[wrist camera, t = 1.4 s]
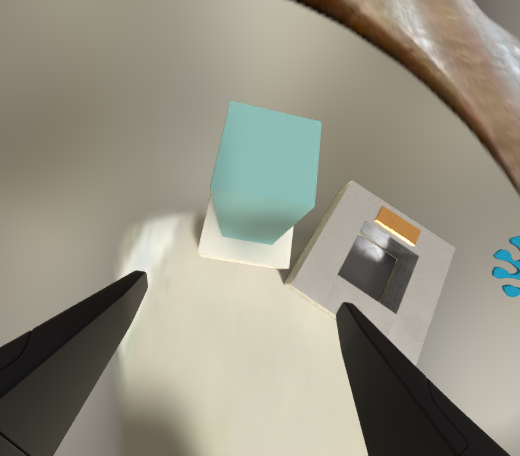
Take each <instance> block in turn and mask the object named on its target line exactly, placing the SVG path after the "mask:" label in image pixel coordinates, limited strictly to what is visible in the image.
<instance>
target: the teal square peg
mask: <svg viewBox="0 0 520 456" xmlns="http://www.w3.org/2000/svg"><path fill="white" fill-rule="evenodd" d="M320 135H321V122H320V121H315V120H311V119H307V118H302V117H298V116H294V115H290V114H285V113H281V112H277V111H272V110H268V109H264V108H259V107H255V106H251V105H246V104H242V103H238V102H233V101H230V105H229V109H228V113H227V117H226V122H225V126H224V130H223V134H222V138H221V143H220V147H219V151H218V155H217V160H216V164H215V168H214V173H213V177H212V181H211V185H210V188H211V192H212V196H213V200H214V205H215V209H216V213H217V217H218V221H219V225H220V229H221V234H222V237H228V238H233V239H239V240H245V241H251V242H257V243H263V244H268V245H273V244H274V243H275V242H276V241H277V240H278V239H279V238H280V237H281V236H283V235H284V234H285V233H286V232H287V231H288V230H289V229H290V228H292V227H293V226H294V225H295V224H296V223H297V222H298V221H299V220H300V219H302V218H303V217H304V216H305V215H306V214H307V213H308V212H309V211H310V210H311V209H313V208H314V207H315V197H316V184H317V172H318V160H319V147H320Z"/></svg>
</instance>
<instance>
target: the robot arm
mask: <svg viewBox="0 0 520 456" xmlns="http://www.w3.org/2000/svg"><path fill="white" fill-rule="evenodd" d="M147 288H148V282H147V274H146V272H144V271H134V272H132V273H130V274H128V275H127V276H125V277H123V278H121V279H120V280H118V281H116V282H114V283H113V284H111V285H109V286H107V287H106V288H104V289H102V290H100V291H98V292H97V293H95V294H93V295H91V296H90V297H88V298H86V299H85V300H83V301H81V302H79V303H78V304H76V305H74V306H72V307H70V308H69V309H67V310H65V311H63V312H62V313H60V314H58V315H56V316H55V317H53V318H51V319H49V320H48V321H46V322H44V323H42V324H41V325H39V326H37V327H35V328H34V329H33V330H32V331H28V332H26V333H25V334H23V335H21V336H20V337H18V338H16V339H14V340H12V341H11V342H9V343H7V344H5V345H3V346H2V347H0V456H53V455H54V453H55V452H56V450H57V448H58V447H59V445H60V443H61V442H62V440H63V438H64V436H65V435H66V433H67V431H68V430H69V428H70V426H71V425H72V423H73V421H74V420H75V418H76V416H77V415H78V413H79V411H80V410H81V408H82V406H83V405H84V403H85V401H86V400H87V398H88V396H89V394H90V392H91V391H92V389H93V388H94V386H95V384H96V383H97V381H98V379H99V378H100V376H101V374H102V372H103V371H104V369H105V368H106V366H107V364H108V362H109V361H110V359H111V357H112V356H113V354H114V352H115V351H116V349H117V347H118V346H119V344H120V342H121V341H122V339H123V337H124V336H125V334H126V332H127V330H128V329H129V327H130V325H131V323H132V321H133V319H134V317H135V315H136V313H137V311H138V308H139V306H140V304H141V302H142V300H143V297H144V295H145V293H146V291H147ZM336 321H337V328H338V334H339V340H340V346H341V352H342V356H343V360H344V364H345V367H346V371H347V375H348V379H349V383H350V387H351V390H352V394H353V398H354V402H355V406H356V410H357V414H358V417H359V421H360V425H361V429H362V433H363V437H364V440H365V444H366V448H367V452H368V456H510V455H509V454H508V453H507V452H506V451H505V450H503V448H501V447H500V446H499V445H498V444H497V443H496V442H495V441H494V440H493V439H491V438H490V437H489V436H488V435H487V434H486V433H485V432H484V431H483V430H482V429H480V428H479V427H478V426H477V425H476V424H475V423H474V422H473V421H472V420H471V419H470V418H469V417H467V416H466V415H465V414H464V413H463V412H462V411H461V410H460V409H459V408H458V407H457V406H456V405H455V404H453V403H452V402H451V401H450V400H449V399H448V398H447V397H446V396H445V395H444V394H443V393H442V392H441V391H440V390H439V389H438V388H437V387H436V386H435V385H434V384H433V383H432V382H431V381H430V380H429V379H428V378H426V376H425V375H424V374H423V373H422V372H421V371H420V370H419V369H418V368H417V367H416V366H415V365H414V364H413V363H412V362H411V361H410V360H409V359H408V358H407V357H406V356H405V355H404V354H403V353H402V352H401V351H400V350H399V349H398V348H397V347H396V346H395V345H394V344H393V343H392V342H391V341H390V340H389V339H388V338H387V337H386V336H385V335H384V334H383V333H382V332H381V331H380V330H379V329H378V328H377V327H376V326H375V325H374V324H373V323H372V322H371V321H370V320H369V319H368V318H367V317H366V316H365V315H364V314H363V313H362V312H361V311H360V310H359V309H358V308H357V307H356V306H355V305H354V304H353V303H349V302H343V303H342V304H341V306H340V307H339V309H338V311H337V313H336Z"/></svg>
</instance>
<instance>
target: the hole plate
mask: <svg viewBox="0 0 520 456" xmlns="http://www.w3.org/2000/svg"><path fill="white" fill-rule="evenodd" d="M359 234H361V235H362V236H364V237H365V238H367V239H368V240H370V241H371V242H373V243H374V244H376V245H377V246H379V247H380V248H382V249H383V250H385V251H386V252H388V253H389V254H391V255H392V256H394V257H395V258H397V262H396V264H395V261H396V259H395V258H394V257H392V256H391V255H389V254H388V253H386V252H385V251H383V250H382V249H380V248H379V247H377V246H376V245H374V244H373V243H371V242H370V241H368V240H367V239H365V238H364V237H362V236H361V235H359ZM454 251H455V247H453V246H452V245H450V244H448V243H447V242H445V241H444V240H442V239H441V238H439V237H438V236H436V235H434V234H433V233H432V232H430V231H428V230H427V229H426V228H424V227H423V226H421V225H420V224H418V223H416V222H415V221H413V220H412V219H410V218H409V217H407V216H406V215H404V214H403V213H401V212H400V211H398V210H397V209H395V208H394V207H392V206H391V205H389V204H387V203H386V202H384V201H383V200H381V199H380V198H378V197H377V196H375V195H374V194H372V193H371V192H369V191H368V190H366V189H364V188H363V187H362V186H360V185H358V184H357V183H355V182H354V181H352V180H351V181H350V182H349V183H348V184H347V185H345V186H344V187H343V188H342V189H341V190H339V192H338V193H337V195H336V197H335V198H334V200H333V202H332V204H331V205H330V207H329V208H328V210H327V212H326V213H325V216H324V217H323V219H322V220H321V222H320V224H319V225H318V227H317V229H316V230H315V232H314V234H313V235H312V237H311V239H310V241H309V242H308V244H307V246H306V247H305V249H304V251H303V252H302V254H301V256H300V257H299V259H298V261H297V262H296V264H295V266H294V268H293V269H292V271H291V273H290V274H289V276H288V278H287V279H286V281H285V283H284V285H285V286H287V287H288V288H290V289H291V290H293V291H294V292H296V293H297V294H299V295H300V296H301V297H303V298H304V299H306V300H307V301H309V302H310V303H312V304H313V305H315V306H316V307H318V308H319V309H320V310H322V311H323V312H325V313H326V314H328V315H329V316H331V317H332V318H334V319H335V320H336V313H337V311H338V309H339V307H340V306H341V304H342V303H343V302H349V303H353V304H354V305H355V306H356V307H357V308H358V309H359V310H360V311H361V312H362V313H363V314H364V315H365V316H366V317H367V318H368V319H369V320H370V321H371V322H372V323H373V324H374V325H375V326H376V327H377V328H378V329H379V330H380V331H381V332H382V333H383V334H384V335H385V336H386V337H387V338H388V339H389V340H390V341H391V342H392V343H393V344H394V345H395V346H396V347H397V348H398V349H399V350H400V351H401V352H402V353H403V354H404V355H405V356H406V357H407V358H408V359H409V360H410V361H411V362H412V363H413V364H414V365H415V366H416V364H417V361H418V358H419V355H420V352H421V349H422V346H423V343H424V340H425V337H426V334H427V331H428V328H429V325H430V322H431V319H432V316H433V313H434V311H435V307H436V305H437V302H438V298H439V296H440V293H441V289H442V287H443V284H444V281H445V278H446V275H447V272H448V269H449V266H450V263H451V260H452V257H453V254H454ZM394 264H395V266H394ZM393 266H394V269H393V271H392V268H393ZM391 271H392V273H391ZM390 273H391V276H390V278H389V275H390ZM388 278H389V281H388V283H387V285H386V282H387V280H388ZM385 285H386V288H385V290H384V292H383V289H384V287H385ZM382 292H383V295H382V297H381V299H380V296H381V294H382ZM379 299H380V302H378V301H379Z"/></svg>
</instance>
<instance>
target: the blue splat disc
mask: <svg viewBox="0 0 520 456" xmlns="http://www.w3.org/2000/svg"><path fill="white" fill-rule="evenodd" d="M509 242H510V243H511V244H513V245H514V246H516V247H517V248H518V249H519V251H520V236H516V237H513V238H510V239H509ZM493 256H494V257H495V258H496V259H500V260H505V261H507V262H509V263H511V264H512V265H513V266H515V267H516V268H517V272H516V273H514V274H509V273H508V272H507V271H506V270H504V269H502V268H500V267H494V268H493V270H492V275H493V276H495V277H496V278H515V279H519V280H520V260H518V261H514V260H512V258H511V254H510V253H509V252H508V251H506V250H502V249H500V250H498V251H497V252H496V253H495V254H494V255H493ZM502 289H503V291H504V292H505V293H506V295H508V296H510V297H515V296H518V295H519V294H520V288H518V287H514V286H511V285H503V286H502Z"/></svg>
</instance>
